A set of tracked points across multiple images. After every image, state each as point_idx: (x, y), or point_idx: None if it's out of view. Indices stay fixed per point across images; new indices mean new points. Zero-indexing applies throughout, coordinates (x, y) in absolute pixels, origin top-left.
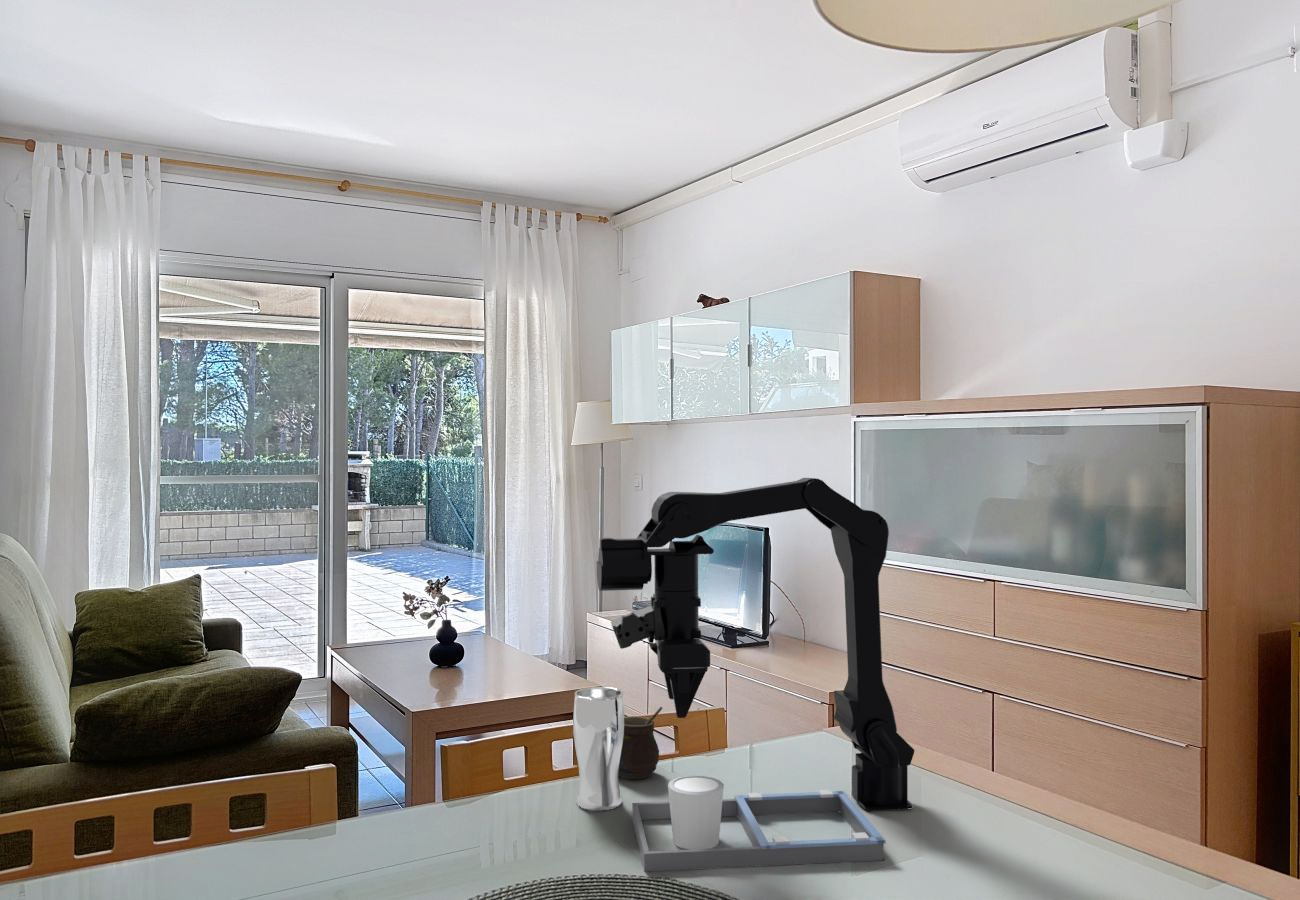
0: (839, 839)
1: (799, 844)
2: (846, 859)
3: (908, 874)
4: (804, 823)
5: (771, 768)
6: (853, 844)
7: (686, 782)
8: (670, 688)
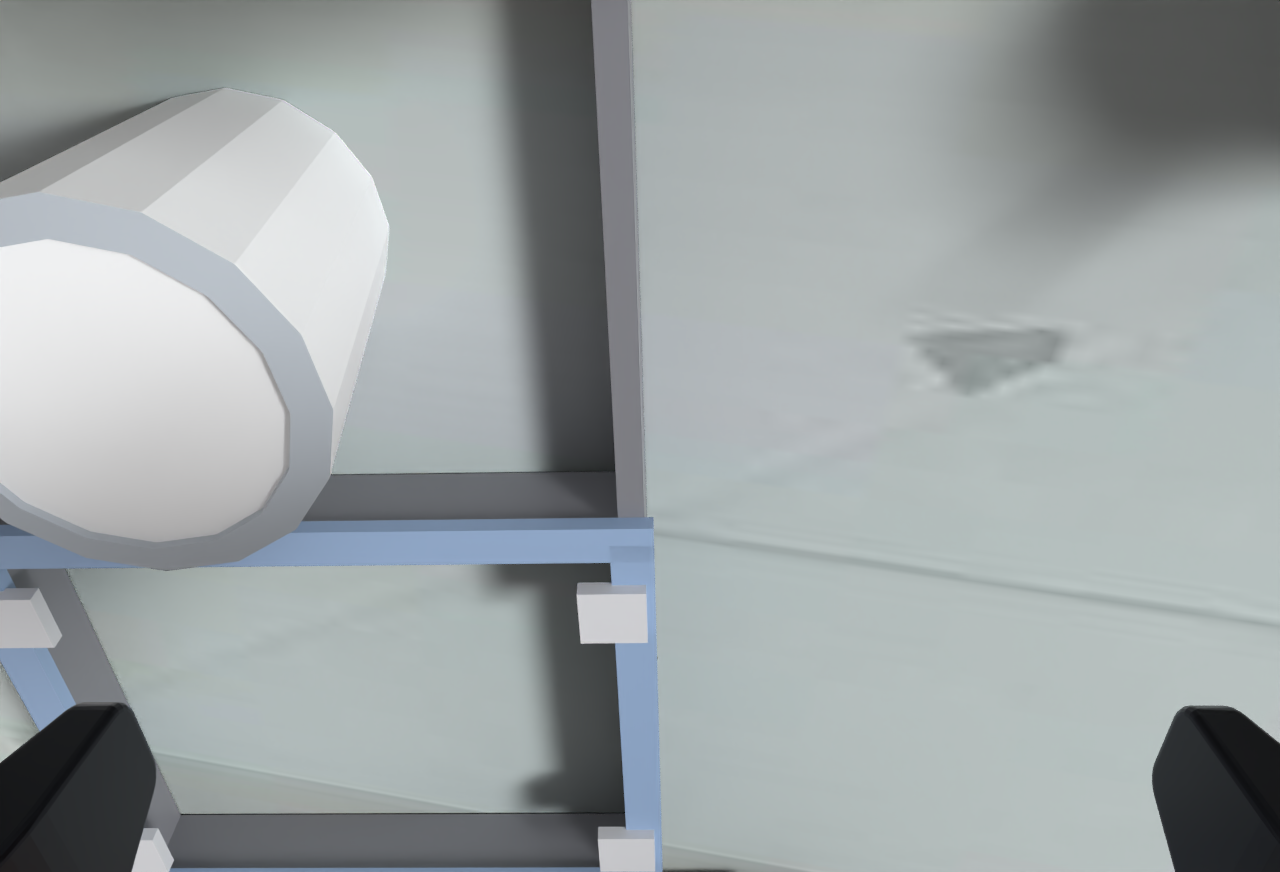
0: None
1: (8, 670)
2: None
3: None
4: (515, 694)
5: (1263, 704)
6: None
7: (154, 345)
8: (1255, 869)
